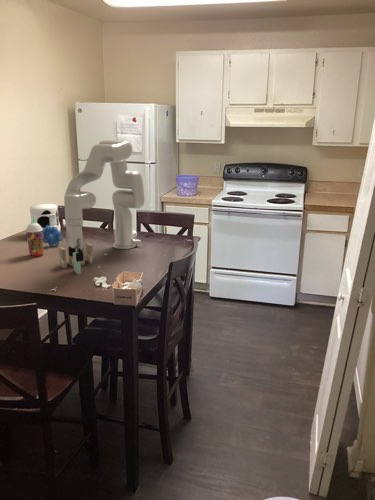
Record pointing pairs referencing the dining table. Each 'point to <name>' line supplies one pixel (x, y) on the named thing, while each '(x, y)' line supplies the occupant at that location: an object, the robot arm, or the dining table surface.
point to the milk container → (45, 215)
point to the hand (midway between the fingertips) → (76, 258)
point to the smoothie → (35, 239)
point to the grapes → (51, 235)
